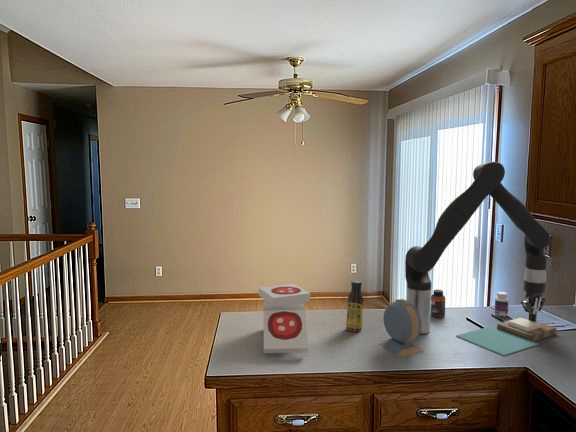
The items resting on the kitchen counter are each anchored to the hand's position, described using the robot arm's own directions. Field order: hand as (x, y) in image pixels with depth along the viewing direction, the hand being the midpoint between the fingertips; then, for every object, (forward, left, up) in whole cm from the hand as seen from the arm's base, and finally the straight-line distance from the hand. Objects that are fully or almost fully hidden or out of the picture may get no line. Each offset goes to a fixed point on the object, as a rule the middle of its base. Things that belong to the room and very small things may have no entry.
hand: (532, 322), depth 173 cm
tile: (-5, 0, 0) cm, 5 cm away
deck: (-4, 0, -3) cm, 5 cm away
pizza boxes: (-92, +37, -3) cm, 99 cm away
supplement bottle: (-20, +30, -3) cm, 36 cm away
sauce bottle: (-62, +34, -3) cm, 71 cm away
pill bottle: (+6, +18, -3) cm, 19 cm away
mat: (-22, 0, -3) cm, 22 cm away
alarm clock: (-58, +12, -3) cm, 59 cm away
